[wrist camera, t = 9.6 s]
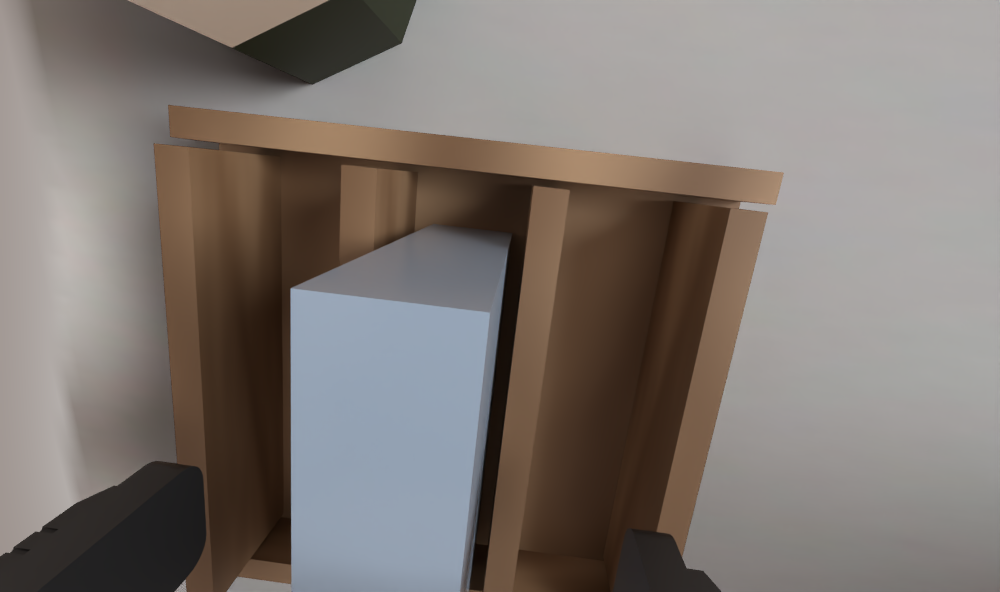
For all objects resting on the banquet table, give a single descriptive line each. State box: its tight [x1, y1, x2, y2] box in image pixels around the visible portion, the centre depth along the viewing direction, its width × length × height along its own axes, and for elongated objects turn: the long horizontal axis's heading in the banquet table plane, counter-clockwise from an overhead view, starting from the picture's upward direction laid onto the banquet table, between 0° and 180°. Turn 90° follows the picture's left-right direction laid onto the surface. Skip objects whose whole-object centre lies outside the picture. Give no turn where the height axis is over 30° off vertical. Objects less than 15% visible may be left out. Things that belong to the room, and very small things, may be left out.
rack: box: [154, 105, 784, 592], centre depth 14 cm, size 16×15×5 cm
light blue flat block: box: [291, 224, 513, 592], centre depth 11 cm, size 2×11×9 cm, turn 174°
